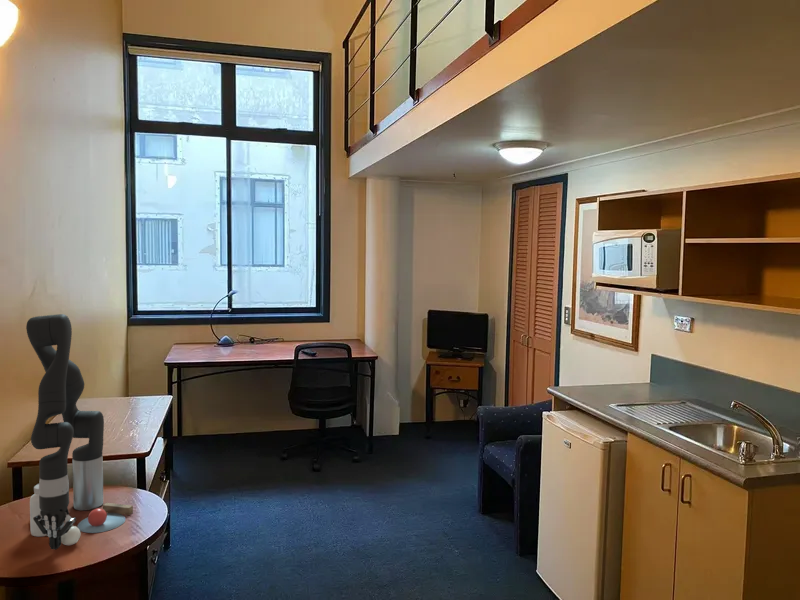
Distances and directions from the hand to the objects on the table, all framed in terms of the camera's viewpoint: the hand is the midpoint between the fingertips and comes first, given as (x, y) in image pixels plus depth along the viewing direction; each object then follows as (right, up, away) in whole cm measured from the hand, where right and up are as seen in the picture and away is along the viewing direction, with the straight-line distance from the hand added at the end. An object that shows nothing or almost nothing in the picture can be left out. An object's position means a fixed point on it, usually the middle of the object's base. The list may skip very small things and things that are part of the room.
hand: (55, 548), depth 174 cm
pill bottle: (-11, 0, +13) cm, 17 cm away
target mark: (+4, 0, +20) cm, 20 cm away
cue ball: (+1, +2, +5) cm, 6 cm away
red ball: (+3, +3, +18) cm, 18 cm away
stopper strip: (+5, +1, +28) cm, 28 cm away
